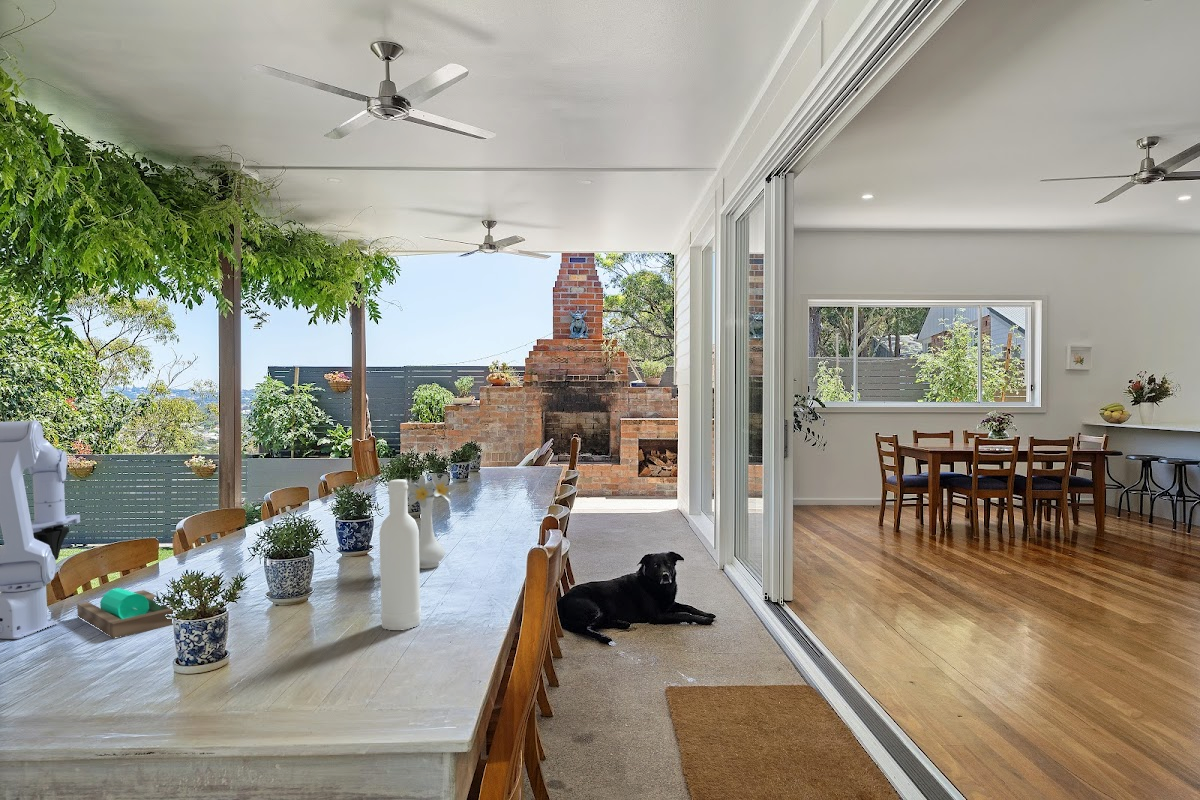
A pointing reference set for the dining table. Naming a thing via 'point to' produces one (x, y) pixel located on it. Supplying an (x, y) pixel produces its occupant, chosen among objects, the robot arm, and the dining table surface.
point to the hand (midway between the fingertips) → (51, 560)
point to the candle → (124, 603)
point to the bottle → (399, 563)
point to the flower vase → (428, 516)
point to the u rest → (127, 625)
